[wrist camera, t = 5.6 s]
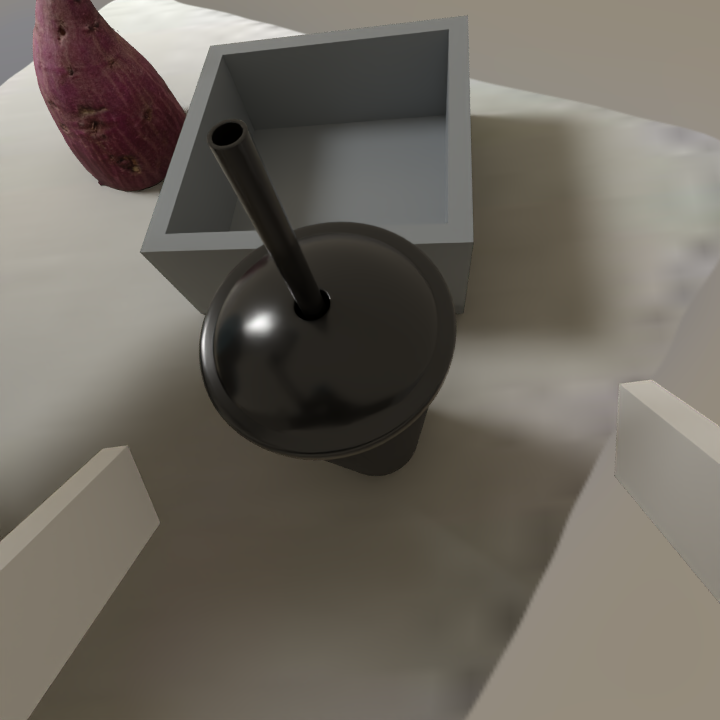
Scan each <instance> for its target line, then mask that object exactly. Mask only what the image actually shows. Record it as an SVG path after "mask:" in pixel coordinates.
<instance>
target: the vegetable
mask: <svg viewBox="0 0 720 720" xmlns="http://www.w3.org/2000/svg"><path fill="white" fill-rule="evenodd" d="M35 15H36V16H35V21H36V22H35V27H34V30H33V59H34V66H35V71H36V76H37V80H38V85H39V88H40V91H41V94H42V96H43V98H44V101H45V103H46V105H47V107H48V109H49V111H50V113H51V115H52V117H53V119H54V121H55V123H56V125H57V127H58V128H59V130H60V132H61V133H62V135H63V137H64V139H65V141H66V143H67V144H68V146H69V147H70V149H71V150H72V152H73V153H74V155H75V156H76V157H77V159H78V160H79V161H80V162H81V164H82V165H83V166H84V167H85V168H86V170H87V171H88V172H90V173H91V174H92V176H94V177H95V178H96V179H97V180H98V183H99V184H100V185H106V186H109V187H111V188H114V189H118V190H124V191H136V190H142V189H145V188H148V187H152V186H154V185H156V184H158V183H159V182H160V181H162V180H163V179H164V178H165V177H166V174H167V171H168V168H169V165H170V163H171V160H172V157H173V154H174V151H175V148H176V145H177V142H178V139H179V136H180V133H181V130H182V127H183V124H184V121H185V119H186V114H185V112H184V110H183V109H182V107H181V106H180V104H179V103H178V101H177V100H176V98H175V97H174V95H173V94H172V92H171V91H170V89H169V88H168V86H167V85H166V83H165V81H164V80H163V79H162V77H161V76H160V75H159V74H158V73H157V71H156V70H155V69H154V67H153V66H152V65H151V64H150V63H149V62H148V61H147V60H146V59H145V58H144V57H143V56H142V55H141V54H140V53H139V52H138V51H137V50H136V49H135V48H134V47H132V46H131V45H130V44H129V43H128V42H127V41H126V40H125V39H123V38H122V37H121V36H120V35H119V34H118V33H117V32H115V31H114V30H113V28H111V27H110V26H109V24H108V23H107V22H106V21H105V20H104V18H103V17H102V16H101V15H100V14H99V12H98V11H97V10H96V8H95V7H94V5H93V4H92V2H91V1H90V0H36V10H35Z"/></svg>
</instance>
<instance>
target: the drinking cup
mask: <svg viewBox="0 0 720 720" xmlns="http://www.w3.org/2000/svg"><path fill="white" fill-rule="evenodd" d="M207 143H208V145H209V147H210V149H211V151H212V152H213V154H214V156H215V158H216V160H217V161H218V163H219V165H220V167H221V169H222V170H223V172H224V174H225V176H226V178H227V179H228V181H229V183H230V185H231V186H232V188H233V190H234V192H235V194H236V195H237V197H238V199H239V201H240V203H241V204H242V206H243V208H244V210H245V212H246V213H247V215H248V217H249V219H250V220H251V222H252V224H253V226H254V228H255V229H256V231H257V233H258V235H259V237H260V238H261V240H262V242H263V245H262V246H260V247H258V248H257V249H256V250H254V251H253V252H252V253H250V254H249V255H248V256H247V257H245V258H244V259H243V260H242V261H241V262H240V263H239V264H238V265H237V266H236V267H235V268H234V269H233V270H232V271H231V272H230V273H229V275H228V276H227V277H226V278H225V280H224V281H223V282H222V284H221V285H220V287H219V288H218V290H217V291H216V293H215V295H214V297H213V299H212V300H211V303H210V305H209V307H208V310H207V312H206V315H205V318H204V321H203V325H202V329H201V335H200V343H199V360H200V368H201V374H202V379H203V382H204V385H205V388H206V391H207V393H208V396H209V398H210V400H211V401H212V403H213V405H214V407H215V408H216V410H217V411H218V413H219V414H220V415H221V417H222V418H223V419H224V420H225V421H226V422H227V423H228V425H229V426H231V427H232V428H233V429H234V430H235V431H236V432H237V433H239V434H240V435H241V436H243V437H244V438H246V439H247V440H249V441H250V442H252V443H254V444H256V445H257V446H259V447H261V448H263V449H265V450H268V451H271V452H273V453H276V454H279V455H283V456H286V457H290V458H297V459H303V460H325V461H328V462H331V463H334V464H337V465H340V466H342V467H345V468H348V469H351V470H354V471H357V472H360V473H363V474H366V475H371V476H381V475H386V474H390V473H392V472H395V471H397V470H398V469H400V468H401V467H403V466H404V465H405V464H406V463H407V462H408V461H409V459H410V458H411V457H412V455H413V453H414V451H415V449H416V446H417V443H418V439H419V436H420V433H421V429H422V426H423V423H424V420H425V416H426V413H427V410H428V407H429V405H430V404H431V402H432V401H433V400H434V398H435V397H436V395H437V394H438V392H439V390H440V389H441V387H442V385H443V383H444V381H445V379H446V376H447V374H448V372H449V368H450V365H451V362H452V359H453V354H454V349H455V342H456V315H455V308H454V304H453V299H452V296H451V293H450V291H449V288H448V286H447V284H446V282H445V280H444V278H443V276H442V274H441V273H440V271H439V270H438V268H437V267H436V266H435V264H434V263H433V262H432V261H431V260H430V259H429V257H428V256H427V255H426V254H425V253H424V252H423V251H421V250H420V249H419V248H418V247H416V246H415V245H414V244H413V243H411V242H410V241H408V240H407V239H405V238H403V237H401V236H399V235H398V234H396V233H393V232H391V231H389V230H386V229H383V228H380V227H377V226H373V225H369V224H364V223H356V222H326V223H319V224H313V225H308V226H305V227H301V228H298V229H295V230H293V229H292V227H291V224H290V222H289V220H288V217H287V215H286V213H285V211H284V208H283V206H282V204H281V202H280V199H279V197H278V195H277V192H276V190H275V188H274V186H273V183H272V181H271V179H270V177H269V174H268V172H267V170H266V167H265V165H264V163H263V161H262V158H261V156H260V154H259V152H258V149H257V147H256V145H255V142H254V140H253V138H252V136H251V133H250V131H249V129H248V127H247V125H246V123H245V122H243V121H242V120H239V119H227V120H224V121H221V122H219V123H217V124H216V125H215V126H213V127H212V128H211V130H210V131H209V133H208V135H207Z"/></svg>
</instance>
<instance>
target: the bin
mask: <svg viewBox="0 0 720 720" xmlns="http://www.w3.org/2000/svg"><path fill="white" fill-rule="evenodd" d="M227 119H239V120H242V121H243V122H245V123H246V125H247V127H248V129H249V131H250V133H251V136H252V138H253V140H254V142H255V145H256V147H257V149H258V152H259V154H260V156H261V158H262V161H263V163H264V165H265V167H266V170H267V172H268V174H269V177H270V179H271V181H272V183H273V186H274V188H275V190H276V192H277V195H278V197H279V199H280V202H281V204H282V206H283V208H284V211H285V213H286V215H287V217H288V220H289V222H290V224H291V227H292V229H293V230H295V229H298V228H301V227H305V226H308V225H313V224H319V223H326V222H356V223H364V224H369V225H373V226H377V227H380V228H383V229H386V230H389V231H391V232H393V233H396V234H398V235H399V236H401V237H403V238H405V239H407V240H408V241H410V242H411V243H413V244H414V245H415V246H416V247H418V248H419V249H420V250H421V251H423V252H424V253H425V254H426V255H427V256H428V257H429V259H430V260H431V261H432V262H433V263H434V264H435V266H436V267H437V268H438V270H439V271H440V273H441V274H442V276H443V278H444V280H445V282H446V284H447V286H448V288H449V291H450V293H451V296H452V299H453V304H454V308H455V313H463V312H464V305H465V298H466V291H467V284H468V277H469V270H470V263H471V256H472V249H473V204H472V163H471V122H470V81H469V39H468V16H459V17H451V18H442V19H433V20H426V21H417V22H409V23H400V24H391V25H383V26H375V27H366V28H357V29H349V30H341V31H332V32H324V33H315V34H307V35H298V36H290V37H281V38H273V39H265V40H256V41H248V42H239V43H231V44H222V45H214V46H210V48H209V51H208V54H207V57H206V60H205V63H204V66H203V69H202V72H201V75H200V77H199V80H198V83H197V86H196V89H195V92H194V95H193V98H192V101H191V104H190V107H189V110H188V113H187V116H186V119H185V121H184V124H183V127H182V130H181V133H180V136H179V139H178V142H177V145H176V148H175V151H174V154H173V157H172V160H171V163H170V165H169V168H168V171H167V174H166V177H165V180H164V183H163V186H162V189H161V192H160V195H159V198H158V201H157V204H156V207H155V209H154V212H153V215H152V218H151V221H150V224H149V227H148V230H147V233H146V236H145V239H144V242H143V245H142V248H141V251H140V253H141V254H142V255H143V256H144V257H145V258H146V259H147V260H148V261H149V262H150V263H151V264H152V265H153V266H154V267H155V268H156V269H157V270H158V271H159V272H160V273H161V274H162V275H163V276H164V277H165V278H166V279H167V280H168V281H169V282H170V283H171V284H172V285H173V286H174V287H175V288H176V289H177V290H178V291H179V292H180V293H181V294H182V295H183V296H184V297H185V298H186V299H187V300H188V301H189V302H190V303H191V304H192V305H193V306H194V307H195V308H196V309H197V310H198V311H199V312H200V313H201V314H206V312H207V310H208V307H209V305H210V303H211V300H212V299H213V297H214V295H215V293H216V291H217V290H218V288H219V287H220V285H221V284H222V282H223V281H224V280H225V278H226V277H227V276H228V275H229V273H230V272H231V271H232V270H233V269H234V268H235V267H236V266H237V265H238V264H239V263H240V262H241V261H242V260H243V259H244V258H245V257H247V256H248V255H249V254H250V253H252V252H253V251H254V250H256V249H257V248H258V247H260V246H262V245H263V242H262V240H261V238H260V237H259V235H258V233H257V231H256V229H255V228H254V226H253V224H252V222H251V220H250V219H249V217H248V215H247V213H246V212H245V210H244V208H243V206H242V204H241V203H240V201H239V199H238V197H237V195H236V194H235V192H234V190H233V188H232V186H231V185H230V183H229V181H228V179H227V178H226V176H225V174H224V172H223V170H222V169H221V167H220V165H219V163H218V161H217V160H216V158H215V156H214V154H213V152H212V151H211V149H210V147H209V145H208V143H207V135H208V133H209V131H210V130H211V128H212V127H213V126H215V125H216V124H217V123H219V122H221V121H224V120H227Z"/></svg>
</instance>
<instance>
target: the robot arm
mask: <svg viewBox="0 0 720 720" xmlns="http://www.w3.org/2000/svg"><path fill="white" fill-rule="evenodd" d="M614 476H615V477H616V478H617V479H618V481H619V482H620V483H621V484H622V485H623V487H624V488H625V489H626V490H627V492H628V493H629V494H630V495H631V497H632V498H633V499H634V500H635V501H636V502H637V504H638V505H639V506H640V507H641V509H642V510H643V511H644V512H645V513H646V515H647V516H648V517H649V518H650V520H651V521H652V522H653V523H654V524H655V526H656V527H657V528H658V529H659V530H660V531H661V533H662V534H663V535H664V537H665V538H666V539H667V540H668V541H669V543H670V544H671V545H672V546H673V547H674V549H675V550H676V551H677V552H678V553H679V555H680V556H681V557H682V558H683V559H684V561H685V562H686V563H687V564H688V566H689V567H690V568H691V569H692V570H693V572H694V573H695V574H696V575H697V577H698V578H699V579H700V580H701V581H702V583H703V584H704V585H705V586H706V587H707V588H708V590H709V591H710V592H711V593H712V595H713V596H714V597H715V598H716V600H717V601H718V602H719V603H720V426H719V425H717V424H715V423H714V422H713V421H711V420H710V419H708V418H707V417H705V416H704V415H702V414H701V413H700V412H698V411H697V410H695V409H694V408H692V407H691V406H689V405H688V404H687V403H685V402H684V401H682V400H681V399H679V398H678V397H676V396H675V395H673V394H672V393H671V392H669V391H667V390H666V389H665V388H663V387H662V386H660V385H659V384H657V383H656V382H655V381H653V380H646V381H638V382H630V383H622V384H619V399H618V418H617V437H616V457H615V475H614ZM159 524H160V521H159V518H158V516H157V514H156V511H155V509H154V506H153V504H152V502H151V499H150V497H149V495H148V492H147V490H146V487H145V485H144V483H143V480H142V478H141V475H140V473H139V471H138V468H137V466H136V464H135V461H134V459H133V456H132V454H131V452H130V449H129V447H128V445H127V446H119V447H111V448H103V449H102V450H101V451H99V452H98V453H97V454H96V455H95V456H94V457H93V458H92V459H91V460H90V461H88V462H87V463H86V464H85V465H84V466H83V467H82V468H81V469H80V470H79V471H77V472H76V473H75V474H74V475H73V476H72V477H71V478H70V479H69V480H68V481H66V482H65V483H64V484H63V485H62V486H61V487H60V488H59V489H58V490H57V491H55V492H54V493H53V494H52V495H51V496H50V497H49V498H48V499H47V500H46V501H44V502H43V503H42V504H41V505H40V506H39V507H38V508H37V509H36V510H35V511H33V512H32V513H31V514H30V515H29V516H28V517H27V518H26V519H25V520H24V521H22V522H21V523H20V524H19V525H18V526H17V527H16V528H15V529H14V530H13V531H11V532H10V533H9V534H8V535H7V536H6V537H5V538H4V539H3V540H1V541H0V720H27V719H28V718H29V717H30V715H31V714H32V712H33V711H34V709H35V708H36V706H37V705H38V703H39V702H40V700H41V699H42V697H43V696H44V694H45V693H46V691H47V690H48V688H49V687H50V685H51V684H52V682H53V681H54V680H55V678H56V677H57V675H58V674H59V672H60V671H61V669H62V668H63V666H64V665H65V663H66V662H67V660H68V659H69V657H70V656H71V654H72V653H73V651H74V650H75V648H76V647H77V646H78V644H79V643H80V641H81V640H82V638H83V637H84V635H85V634H86V632H87V631H88V629H89V628H90V626H91V625H92V623H93V622H94V620H95V619H96V617H97V616H98V614H99V613H100V611H101V610H102V609H103V607H104V606H105V604H106V603H107V601H108V600H109V598H110V597H111V595H112V594H113V592H114V591H115V589H116V588H117V586H118V585H119V583H120V582H121V580H122V579H123V577H124V576H125V575H126V573H127V572H128V570H129V569H130V567H131V566H132V564H133V563H134V561H135V560H136V558H137V557H138V555H139V554H140V552H141V551H142V549H143V548H144V546H145V545H146V543H147V542H148V540H149V539H150V538H151V536H152V535H153V533H154V532H155V530H156V529H157V527H158V526H159Z"/></svg>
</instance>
